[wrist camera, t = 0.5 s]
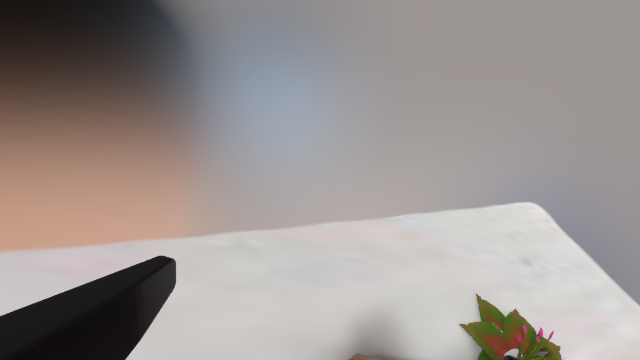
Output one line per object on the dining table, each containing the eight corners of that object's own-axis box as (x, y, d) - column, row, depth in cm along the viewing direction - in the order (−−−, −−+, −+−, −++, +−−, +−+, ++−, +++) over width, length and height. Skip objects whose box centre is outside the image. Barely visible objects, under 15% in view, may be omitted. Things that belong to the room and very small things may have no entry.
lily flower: (459, 276, 32) (488, 254, 29) (567, 343, 30) (610, 327, 27) (445, 392, 23) (485, 376, 20) (598, 498, 21) (667, 498, 18)
